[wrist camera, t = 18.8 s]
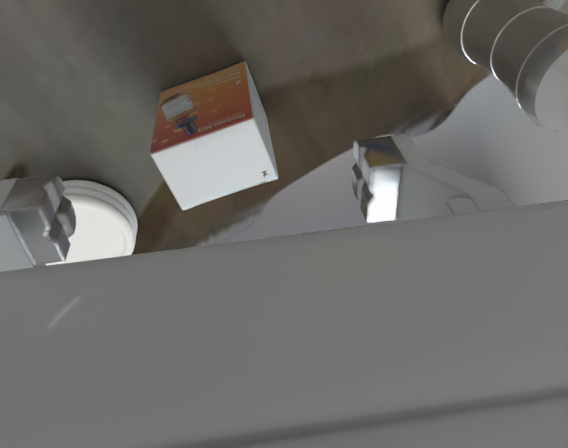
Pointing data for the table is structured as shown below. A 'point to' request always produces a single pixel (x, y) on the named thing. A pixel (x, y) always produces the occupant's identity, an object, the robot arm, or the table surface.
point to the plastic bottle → (516, 52)
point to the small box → (212, 137)
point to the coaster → (99, 222)
